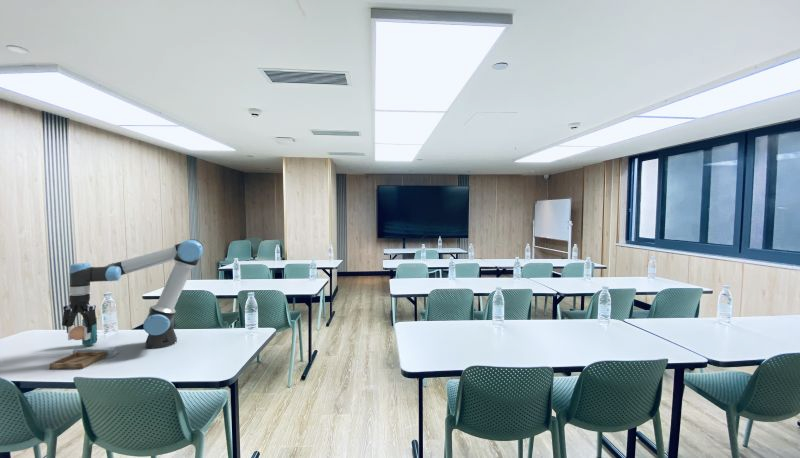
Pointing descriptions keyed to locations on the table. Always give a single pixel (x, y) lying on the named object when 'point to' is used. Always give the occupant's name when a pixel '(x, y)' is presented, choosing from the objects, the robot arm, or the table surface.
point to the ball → (77, 333)
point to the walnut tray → (78, 360)
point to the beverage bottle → (92, 335)
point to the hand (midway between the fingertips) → (79, 339)
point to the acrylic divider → (109, 351)
